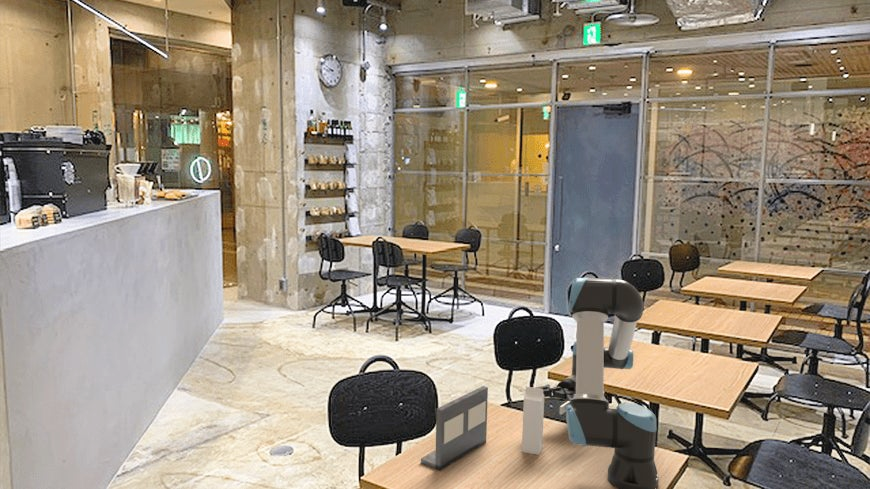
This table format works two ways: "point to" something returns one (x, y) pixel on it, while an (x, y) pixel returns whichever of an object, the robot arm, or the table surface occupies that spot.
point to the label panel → (459, 428)
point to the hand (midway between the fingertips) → (542, 405)
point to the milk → (533, 420)
